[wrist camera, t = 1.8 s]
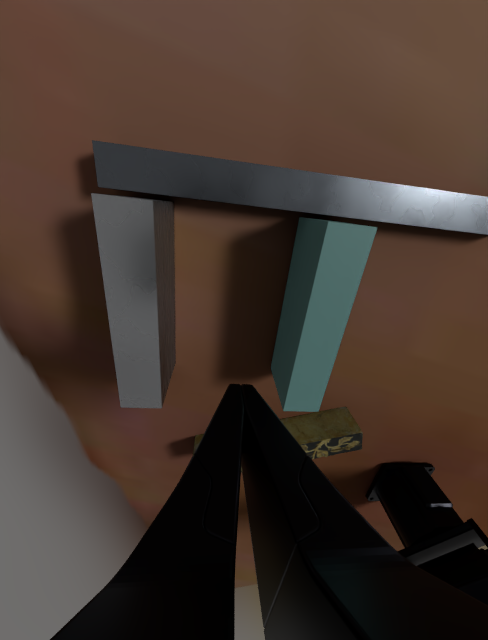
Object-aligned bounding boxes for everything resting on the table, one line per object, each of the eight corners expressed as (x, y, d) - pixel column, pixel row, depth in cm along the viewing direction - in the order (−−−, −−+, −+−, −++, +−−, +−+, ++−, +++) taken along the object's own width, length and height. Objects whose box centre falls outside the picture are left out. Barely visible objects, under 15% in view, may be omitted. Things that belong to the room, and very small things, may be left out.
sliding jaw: (298, 369, 21) (318, 411, 17) (270, 368, 21) (283, 410, 16) (335, 221, 16) (377, 227, 12) (299, 216, 16) (328, 221, 11)
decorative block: (200, 448, 25) (196, 483, 22) (194, 432, 24) (189, 467, 21) (346, 420, 25) (364, 452, 22) (346, 403, 24) (365, 434, 21)
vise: (421, 373, 23) (471, 414, 18) (131, 360, 20) (104, 406, 15) (508, 205, 17) (614, 205, 12) (109, 148, 14) (53, 121, 9)
